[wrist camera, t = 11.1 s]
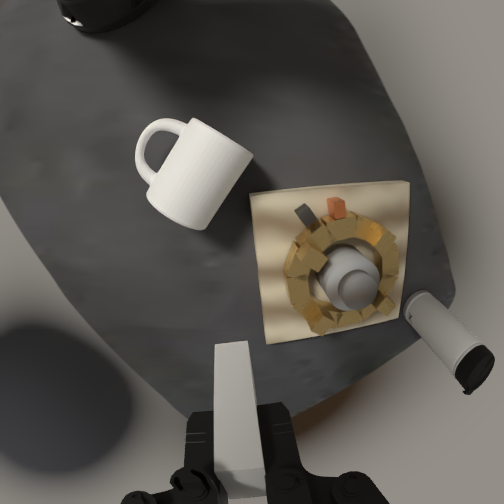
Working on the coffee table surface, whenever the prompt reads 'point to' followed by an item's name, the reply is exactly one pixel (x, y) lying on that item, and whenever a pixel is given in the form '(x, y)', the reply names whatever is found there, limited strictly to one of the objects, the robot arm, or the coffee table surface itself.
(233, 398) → the robot arm
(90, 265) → the coffee table surface
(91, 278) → the coffee table surface
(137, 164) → the mug
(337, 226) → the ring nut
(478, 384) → the travel mug
